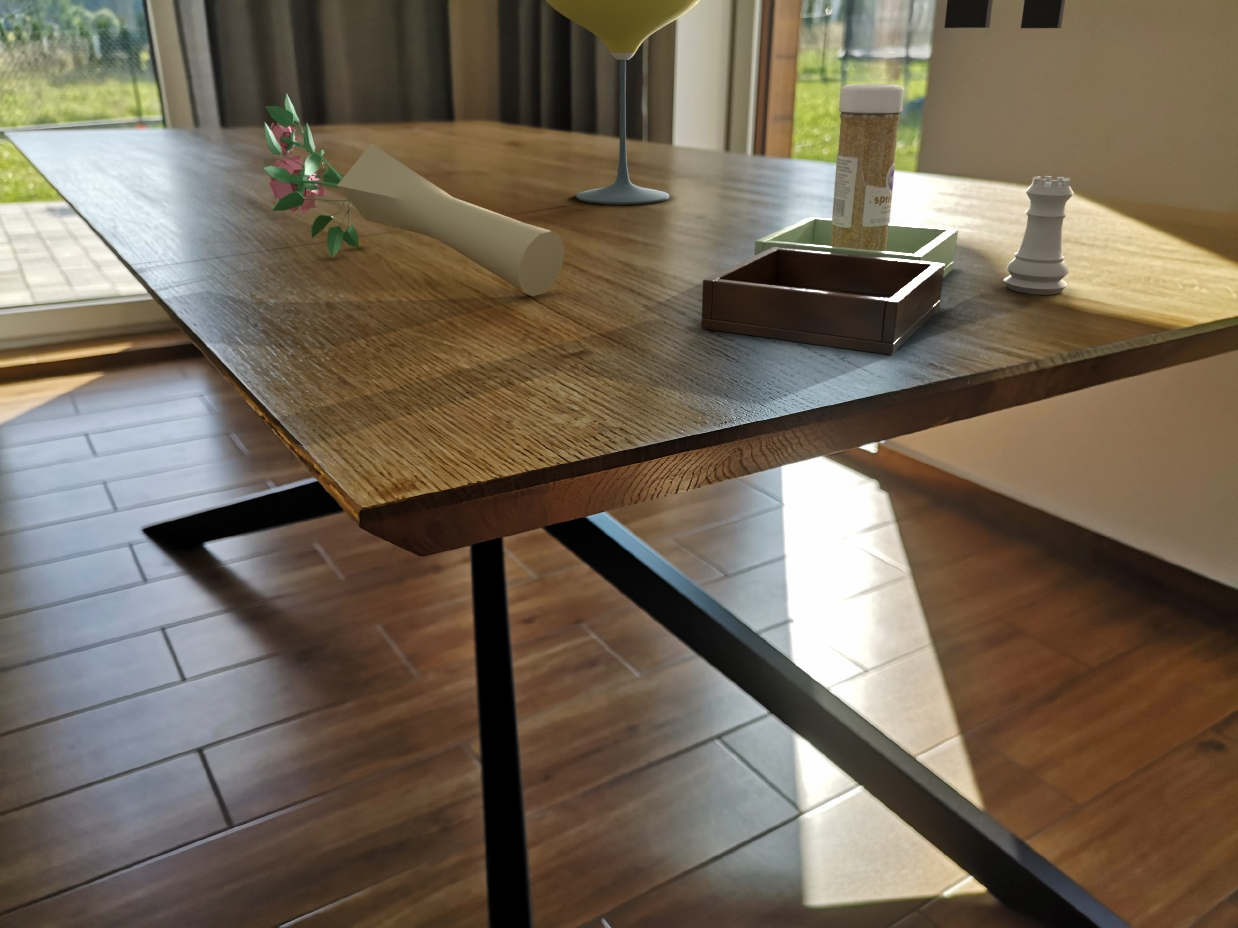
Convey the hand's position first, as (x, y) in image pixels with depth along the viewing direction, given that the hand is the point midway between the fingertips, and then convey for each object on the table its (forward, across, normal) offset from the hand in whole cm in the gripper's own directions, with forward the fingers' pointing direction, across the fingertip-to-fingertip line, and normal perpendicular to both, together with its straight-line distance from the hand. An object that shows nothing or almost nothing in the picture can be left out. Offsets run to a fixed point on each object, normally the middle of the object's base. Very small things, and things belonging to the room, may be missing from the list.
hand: (1006, 29), depth 71 cm
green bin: (+18, -3, +8) cm, 20 cm away
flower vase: (+18, -24, +39) cm, 49 cm away
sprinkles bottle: (+17, -3, +8) cm, 19 cm away
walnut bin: (+18, -16, +4) cm, 24 cm away
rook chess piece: (+18, +2, -4) cm, 19 cm away
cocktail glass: (+18, +17, +49) cm, 55 cm away
